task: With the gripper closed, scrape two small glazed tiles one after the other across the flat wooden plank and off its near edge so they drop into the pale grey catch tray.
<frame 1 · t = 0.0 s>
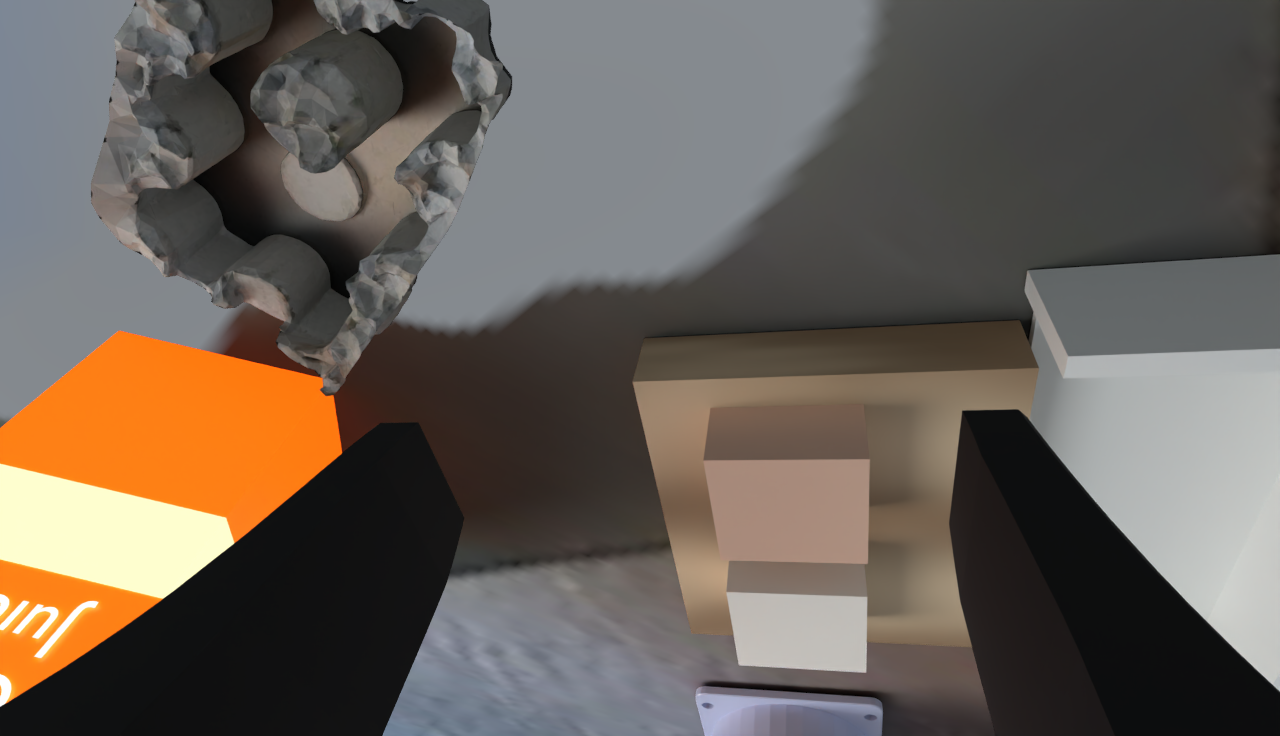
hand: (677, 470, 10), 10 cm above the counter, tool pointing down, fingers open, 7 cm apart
cream tile: (798, 578, 24), point 2 cm above the counter, touching flat wooden plank
orange juice: (252, 439, 28), on the counter
flat wooden plank: (826, 480, 24), on the counter
egg carton: (340, 123, 19), on the counter
catch tray: (1136, 480, 22), on the counter
terracotta tile: (789, 459, 21), point 2 cm above the counter, touching flat wooden plank
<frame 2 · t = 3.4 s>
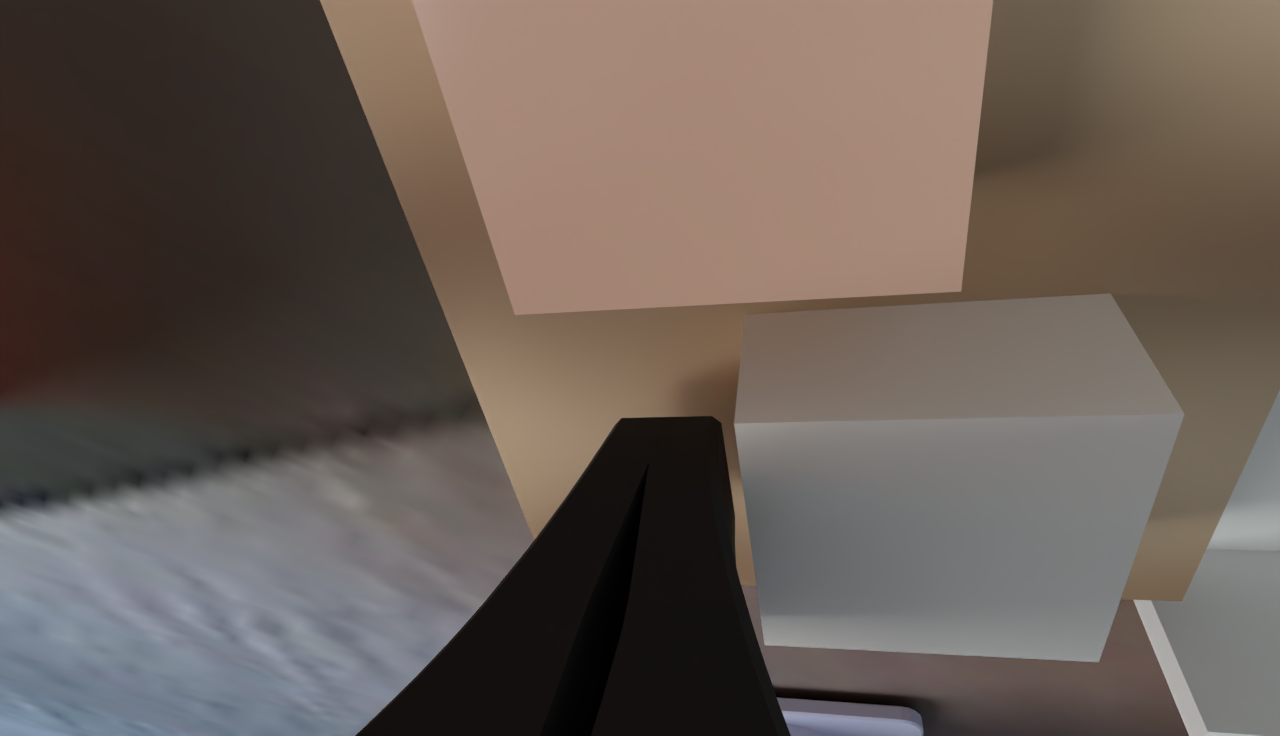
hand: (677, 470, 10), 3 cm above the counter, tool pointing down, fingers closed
cream tile: (910, 430, 10), point 2 cm above the counter, touching flat wooden plank
flat wooden plank: (825, 199, 10), on the counter
terracotta tile: (717, 10, 7), point 2 cm above the counter, touching flat wooden plank
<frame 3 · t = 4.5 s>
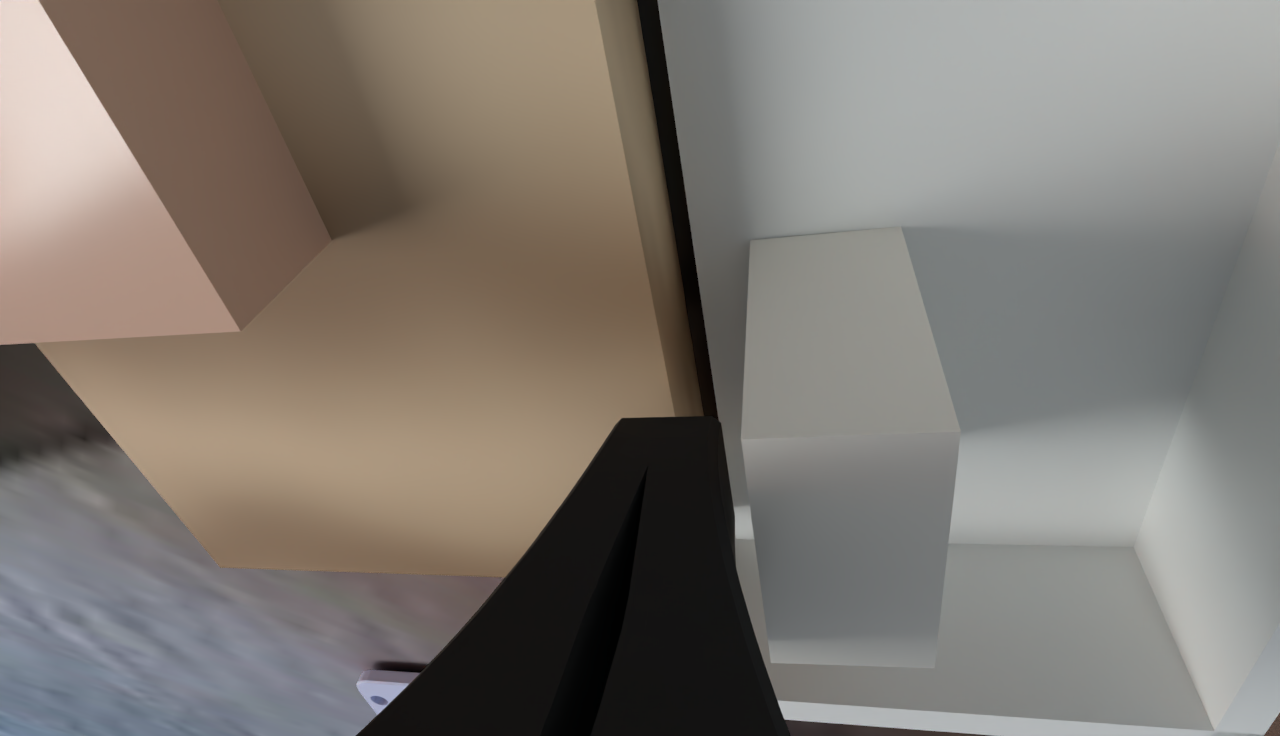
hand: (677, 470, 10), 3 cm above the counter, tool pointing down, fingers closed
cream tile: (760, 444, 10), point 2 cm above the counter, tilted 91°, touching catch tray, gripper
flat wooden plank: (364, 239, 12), on the counter
catch tray: (962, 188, 10), on the counter
terracotta tile: (111, 102, 9), point 2 cm above the counter, touching flat wooden plank
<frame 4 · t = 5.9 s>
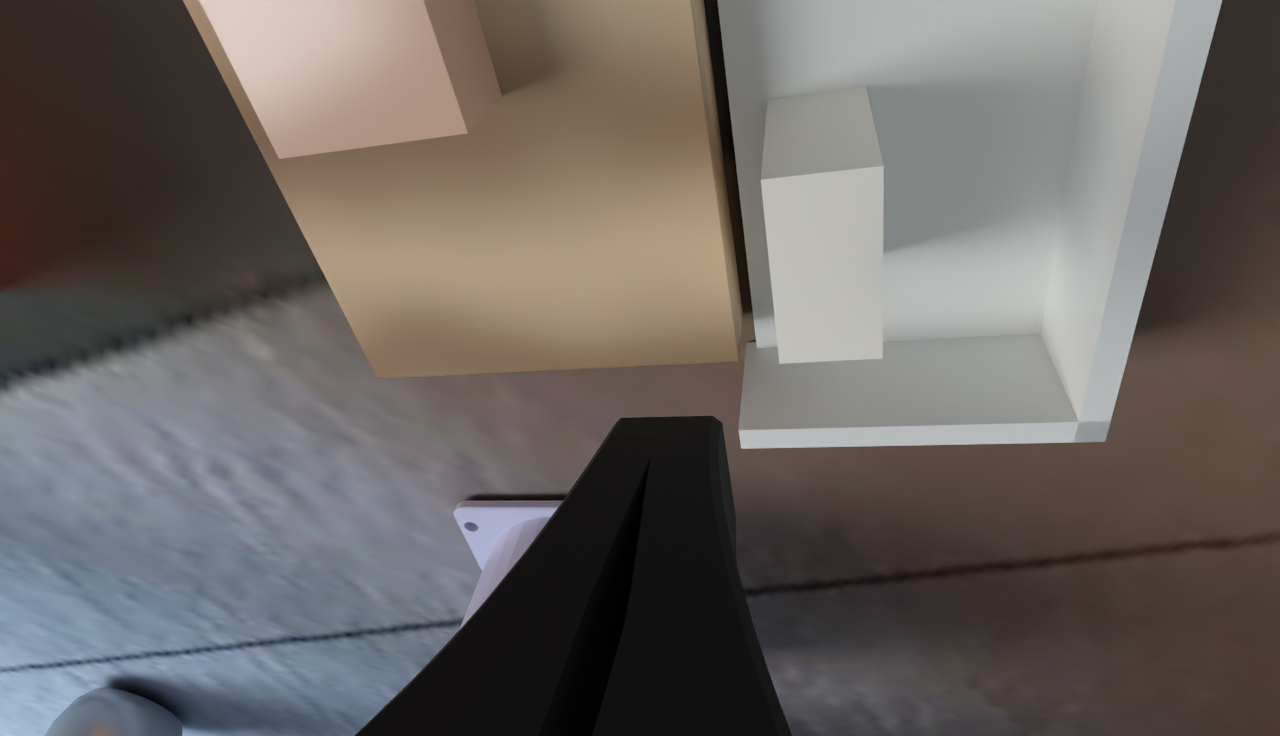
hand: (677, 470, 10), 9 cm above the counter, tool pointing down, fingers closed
cream tile: (773, 228, 15), point 2 cm above the counter, tilted 90°, touching catch tray
plastic bottle: (147, 699, 44), on the counter
flat wooden plank: (501, 116, 17), on the counter
catch tray: (904, 59, 15), on the counter
terracotta tile: (374, 5, 14), point 2 cm above the counter, touching flat wooden plank
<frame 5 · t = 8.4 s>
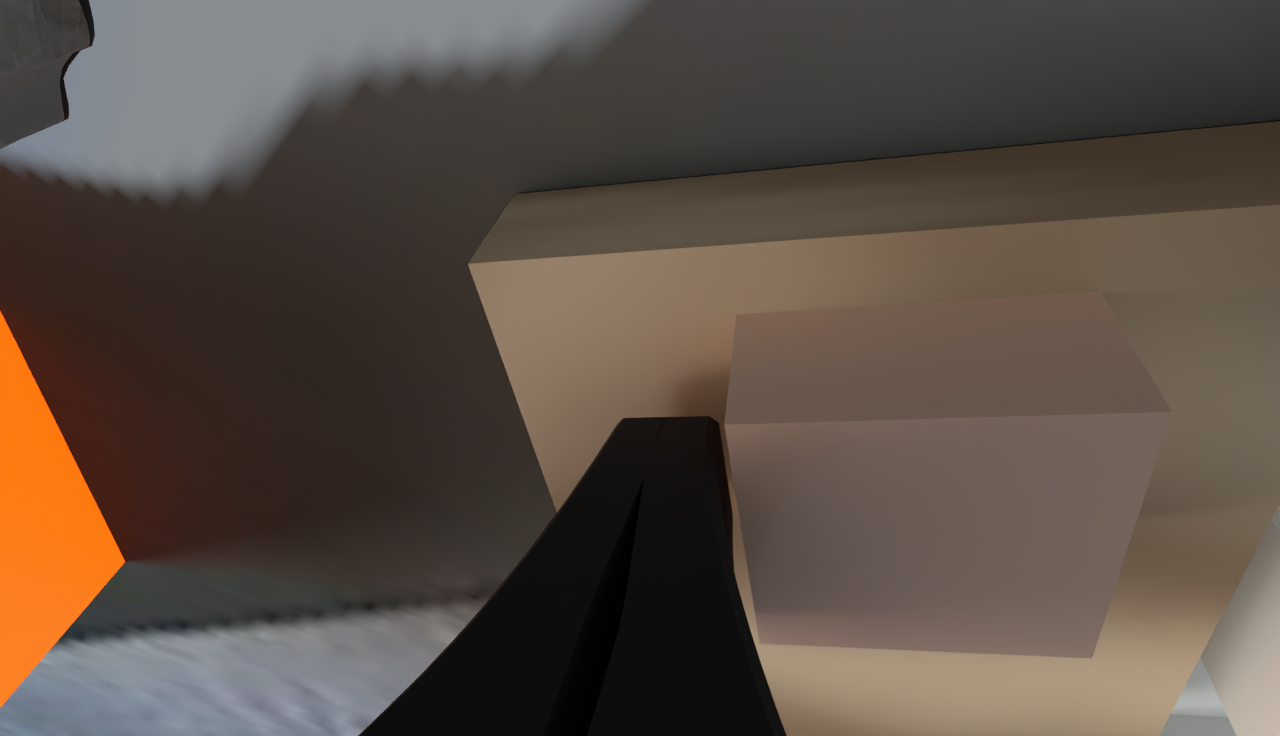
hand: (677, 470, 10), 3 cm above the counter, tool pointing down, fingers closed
flat wooden plank: (864, 478, 13), on the counter
terracotta tile: (903, 429, 10), point 2 cm above the counter, touching gripper, flat wooden plank
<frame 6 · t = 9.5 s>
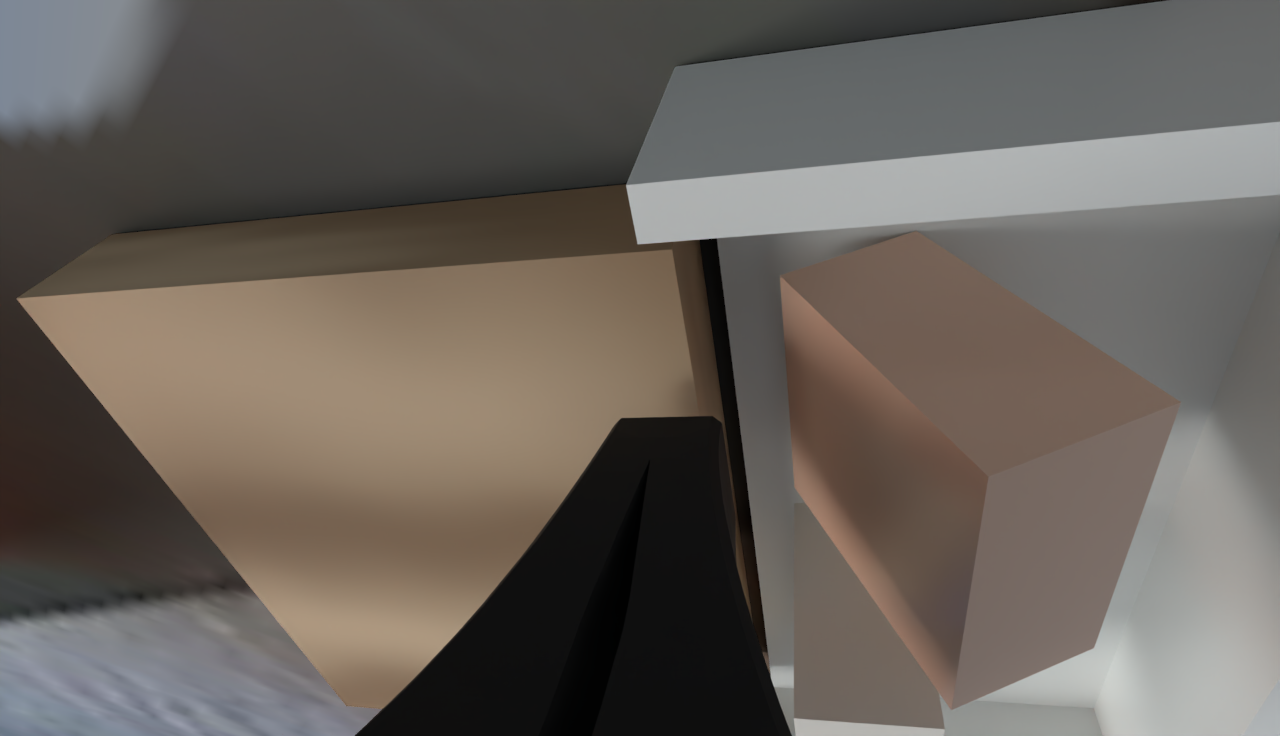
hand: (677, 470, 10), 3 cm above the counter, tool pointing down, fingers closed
cream tile: (800, 663, 13), point 2 cm above the counter, tilted 90°, touching catch tray
flat wooden plank: (486, 478, 15), on the counter
catch tray: (955, 478, 13), on the counter
terracotta tile: (861, 483, 9), point 3 cm above the counter, tilted 117°, touching catch tray
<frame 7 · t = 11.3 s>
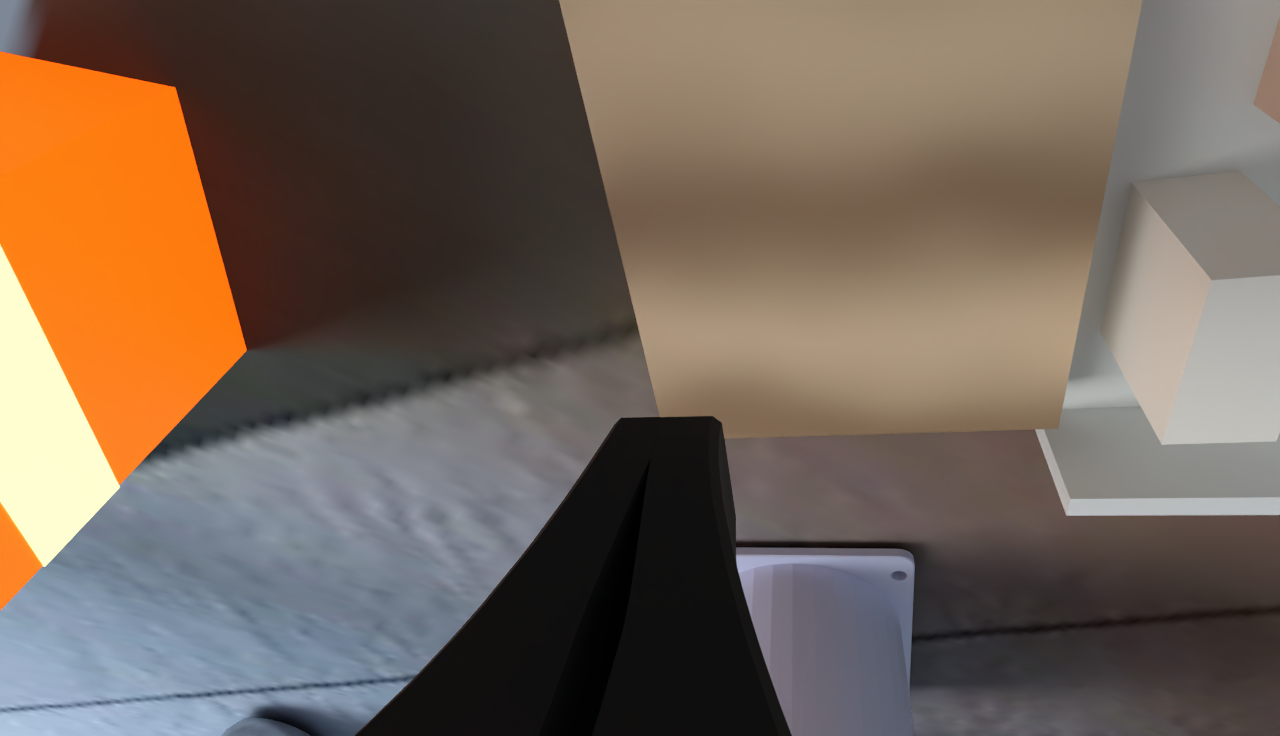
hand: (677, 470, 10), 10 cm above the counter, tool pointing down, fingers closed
cream tile: (1146, 310, 16), point 2 cm above the counter, tilted 90°, touching catch tray
plastic bottle: (290, 726, 44), on the counter
orange juice: (100, 207, 22), on the counter
flat wooden plank: (838, 193, 17), on the counter
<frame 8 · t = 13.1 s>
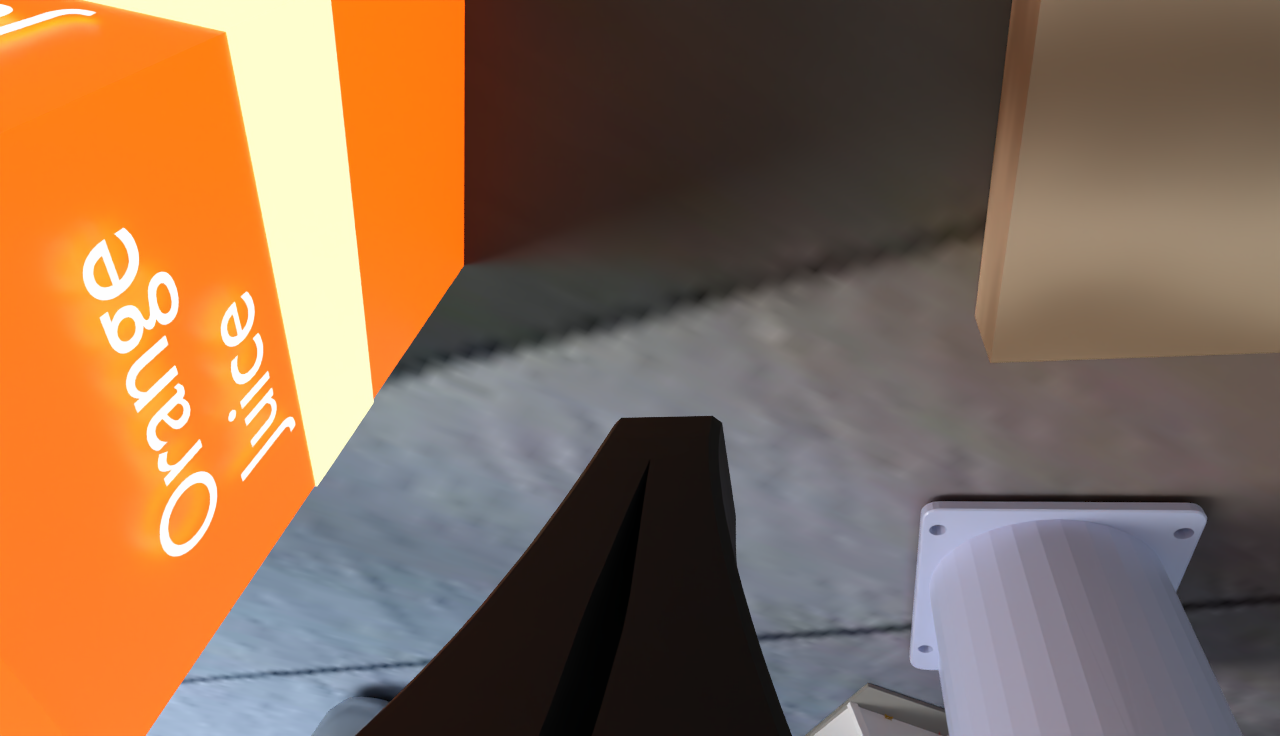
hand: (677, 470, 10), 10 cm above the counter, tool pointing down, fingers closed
plastic bottle: (393, 708, 41), on the counter
orange juice: (326, 85, 19), on the counter
flat wooden plank: (1272, 56, 15), on the counter
skyscraper: (877, 730, 35), on the counter
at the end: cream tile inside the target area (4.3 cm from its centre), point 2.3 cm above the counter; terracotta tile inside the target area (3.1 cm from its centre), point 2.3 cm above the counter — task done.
